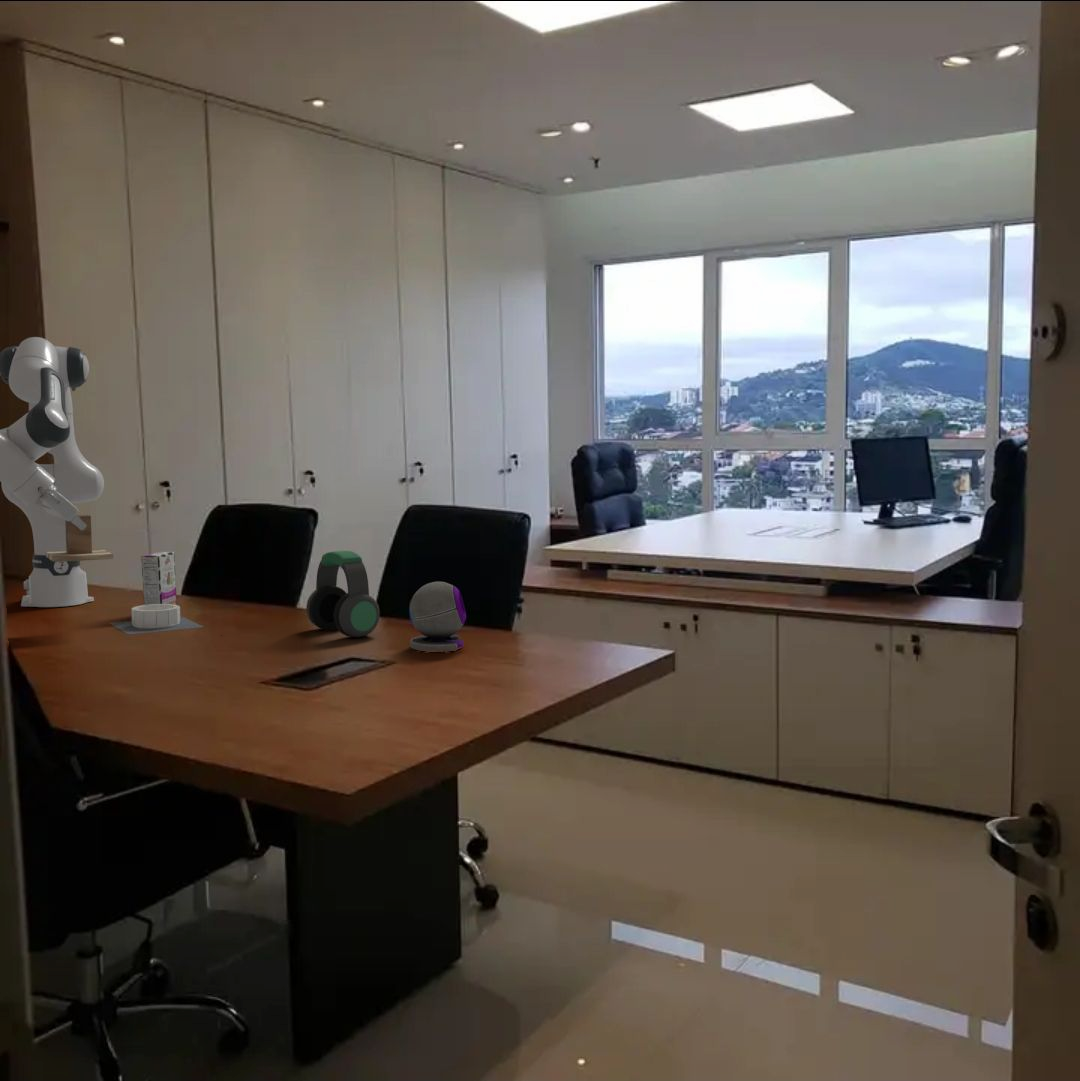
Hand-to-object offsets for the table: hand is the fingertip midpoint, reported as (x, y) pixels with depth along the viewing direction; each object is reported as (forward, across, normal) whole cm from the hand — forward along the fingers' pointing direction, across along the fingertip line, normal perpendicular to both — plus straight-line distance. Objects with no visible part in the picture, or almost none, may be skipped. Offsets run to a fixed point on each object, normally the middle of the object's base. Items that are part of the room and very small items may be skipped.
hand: (81, 527), depth 257 cm
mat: (+29, -4, +6) cm, 30 cm away
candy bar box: (+33, +10, +3) cm, 34 cm away
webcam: (+62, -64, -26) cm, 93 cm away
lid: (+5, 0, +6) cm, 7 cm away
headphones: (+54, -37, -18) cm, 68 cm away
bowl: (+29, -4, +6) cm, 30 cm away
